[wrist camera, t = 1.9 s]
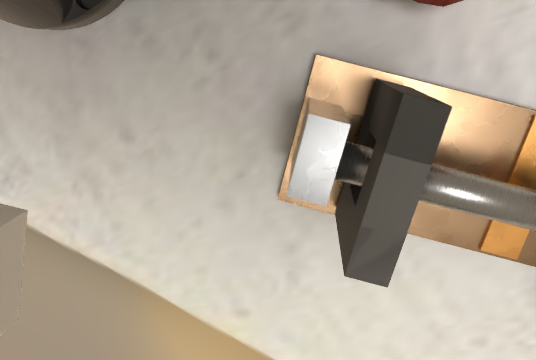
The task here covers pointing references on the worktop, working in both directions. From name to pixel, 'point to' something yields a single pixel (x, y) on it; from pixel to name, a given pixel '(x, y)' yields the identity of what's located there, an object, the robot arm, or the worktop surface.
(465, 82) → the worktop surface
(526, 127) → the pipe rig
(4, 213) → the robot arm
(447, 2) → the fruit
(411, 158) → the collar
